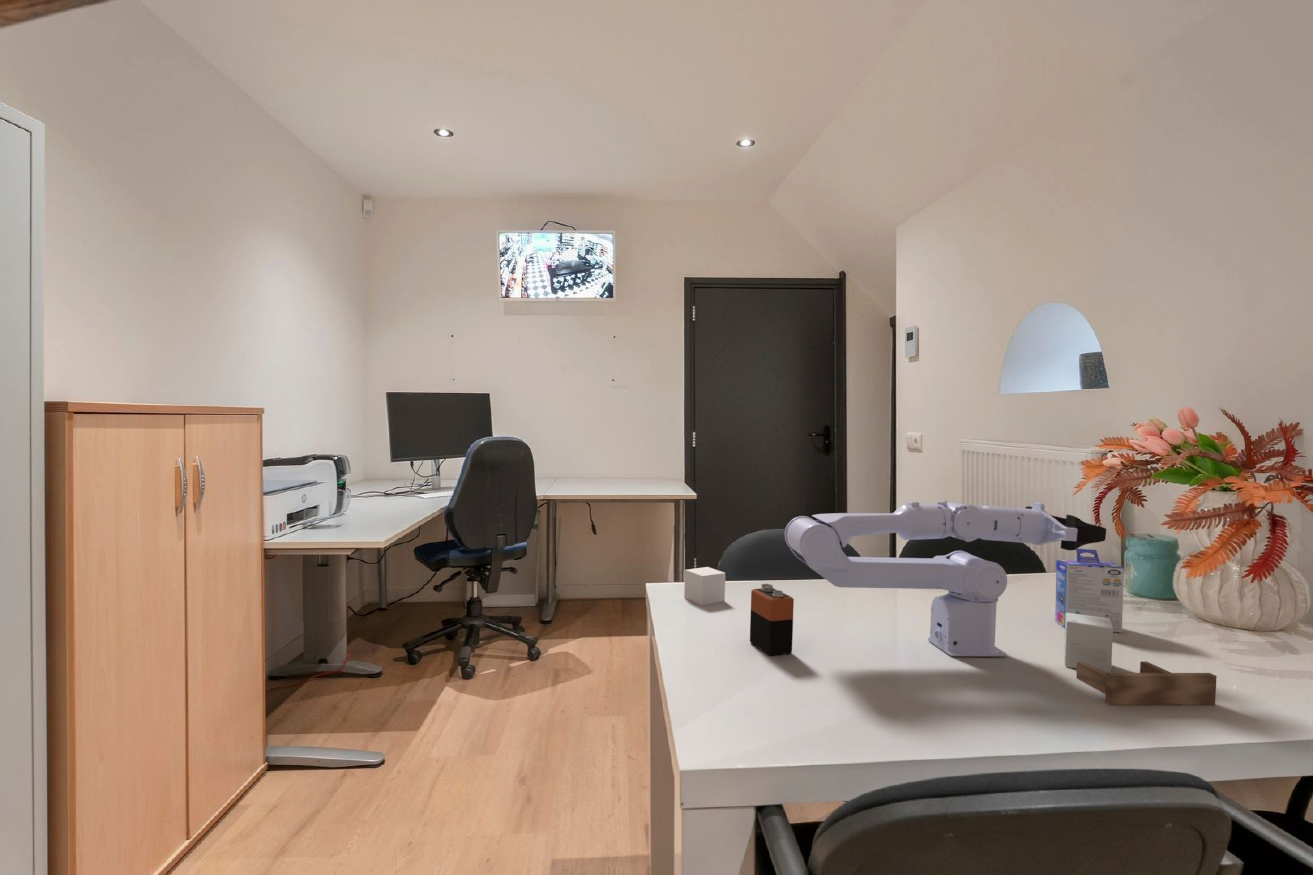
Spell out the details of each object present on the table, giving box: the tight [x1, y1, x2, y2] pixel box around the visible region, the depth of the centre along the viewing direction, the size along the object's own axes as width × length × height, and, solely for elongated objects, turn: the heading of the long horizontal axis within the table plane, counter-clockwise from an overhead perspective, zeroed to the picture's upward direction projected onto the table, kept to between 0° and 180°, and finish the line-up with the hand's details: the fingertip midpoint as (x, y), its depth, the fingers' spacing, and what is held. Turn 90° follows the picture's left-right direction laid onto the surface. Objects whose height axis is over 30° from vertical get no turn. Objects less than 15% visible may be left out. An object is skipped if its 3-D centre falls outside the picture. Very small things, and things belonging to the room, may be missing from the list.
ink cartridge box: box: [1054, 548, 1125, 633], centre depth 119 cm, size 10×6×14 cm, turn 78°
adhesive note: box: [683, 566, 726, 606], centre depth 131 cm, size 6×6×6 cm
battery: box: [749, 583, 795, 656], centre depth 103 cm, size 4×7×10 cm, turn 21°
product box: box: [1063, 613, 1114, 673], centre depth 99 cm, size 6×6×7 cm
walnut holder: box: [1075, 661, 1218, 706], centre depth 90 cm, size 15×9×4 cm, turn 94°
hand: (1086, 530), depth 106 cm, fingers open, 7 cm apart
